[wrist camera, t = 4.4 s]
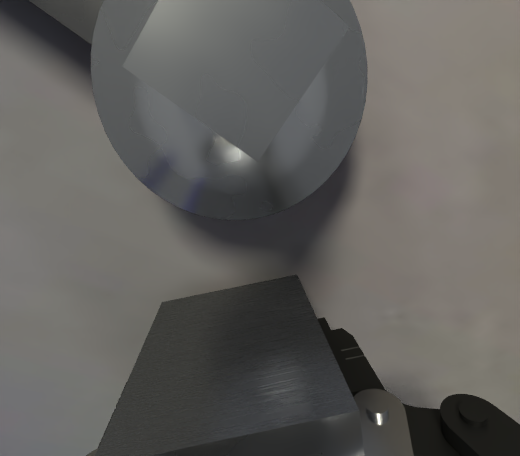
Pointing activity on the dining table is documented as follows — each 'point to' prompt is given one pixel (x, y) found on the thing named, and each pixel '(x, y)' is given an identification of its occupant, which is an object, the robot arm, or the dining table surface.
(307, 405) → the grey paneled cube
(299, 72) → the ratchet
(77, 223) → the dining table surface
